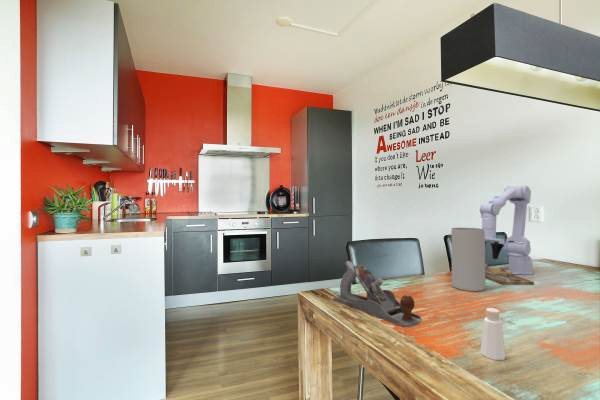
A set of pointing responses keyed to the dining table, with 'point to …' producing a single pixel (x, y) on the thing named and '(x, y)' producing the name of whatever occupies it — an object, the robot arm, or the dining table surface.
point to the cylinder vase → (468, 259)
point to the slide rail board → (512, 280)
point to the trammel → (495, 274)
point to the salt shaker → (493, 336)
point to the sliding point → (498, 271)
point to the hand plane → (376, 298)
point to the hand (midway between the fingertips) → (487, 257)
